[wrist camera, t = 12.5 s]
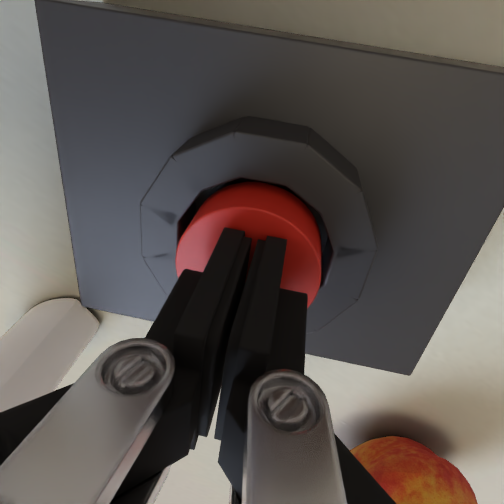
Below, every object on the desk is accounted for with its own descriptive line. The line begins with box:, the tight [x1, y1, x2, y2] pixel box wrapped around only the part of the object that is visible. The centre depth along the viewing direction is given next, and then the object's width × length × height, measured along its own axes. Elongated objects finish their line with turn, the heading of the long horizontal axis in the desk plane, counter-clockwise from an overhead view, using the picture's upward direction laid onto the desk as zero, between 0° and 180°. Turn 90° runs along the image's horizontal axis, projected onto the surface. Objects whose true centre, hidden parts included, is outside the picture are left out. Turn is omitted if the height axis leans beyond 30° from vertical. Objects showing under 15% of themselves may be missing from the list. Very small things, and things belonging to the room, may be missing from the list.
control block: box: [35, 0, 504, 375], centre depth 13 cm, size 14×11×6 cm
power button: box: [175, 182, 321, 308], centre depth 11 cm, size 4×4×2 cm
